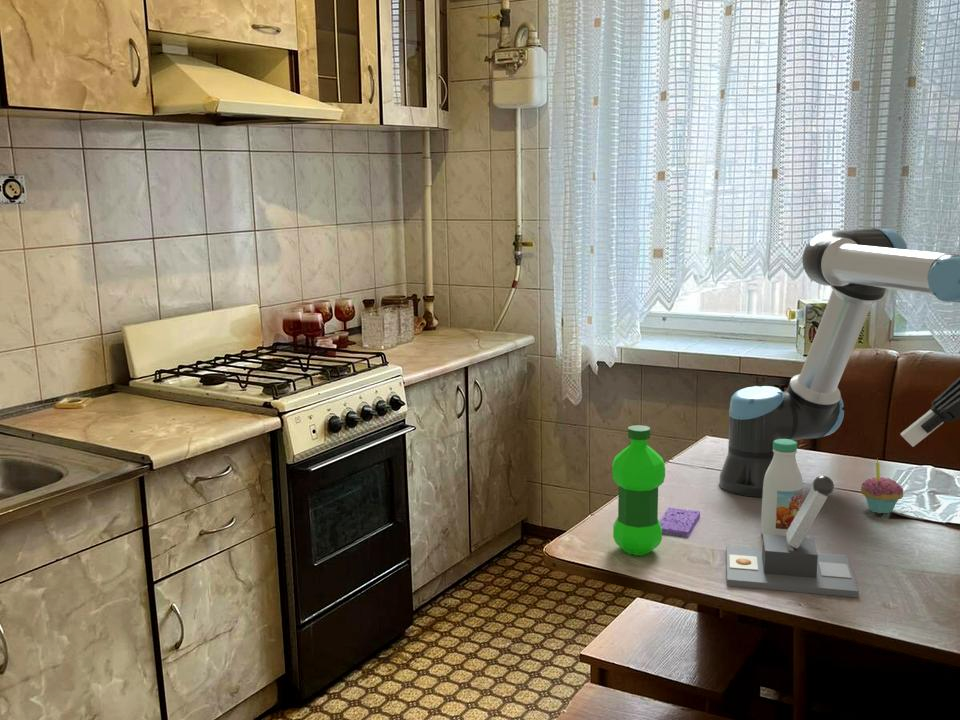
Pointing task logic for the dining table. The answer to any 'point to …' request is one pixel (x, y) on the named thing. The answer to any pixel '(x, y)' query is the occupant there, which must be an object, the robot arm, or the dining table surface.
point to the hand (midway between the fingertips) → (906, 440)
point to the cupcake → (881, 493)
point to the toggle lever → (809, 510)
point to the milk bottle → (781, 489)
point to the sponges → (679, 521)
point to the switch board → (790, 580)
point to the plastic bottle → (638, 494)
